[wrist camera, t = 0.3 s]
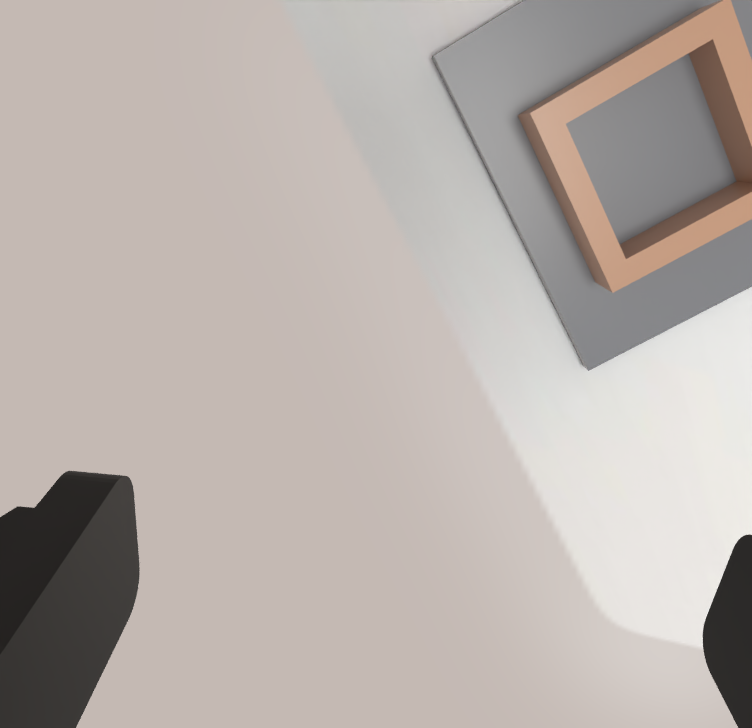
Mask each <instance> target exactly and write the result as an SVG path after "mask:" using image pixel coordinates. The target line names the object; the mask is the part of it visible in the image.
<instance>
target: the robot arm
mask: <svg viewBox="0 0 752 728" xmlns="http://www.w3.org/2000/svg"><path fill="white" fill-rule="evenodd" d="M138 583H139V555H138V543H137V529H136V516H135V504H134V492H133V485H132V482H131V480H130V478H129V477H127V476H120V475H108V474H98V473H87V472H77V471H68V472H65V473H64V474H63V475H62V476H61V477H60V478H59V479H58V480H57V481H56V483H55V484H54V485H53V486H52V487H51V489H50V490H49V491H48V492H47V494H46V495H45V496H44V497H43V499H42V500H41V501H40V502H39V503H38V504H37V506H36V507H35V508H29V507H16V508H15V509H13V510H11V511H10V512H8V513H6V514H5V515H3V516H2V517H0V728H76V726H77V724H78V722H79V720H80V718H81V716H82V714H83V712H84V710H85V708H86V706H87V704H88V701H89V699H90V697H91V695H92V693H93V691H94V689H95V687H96V685H97V683H98V681H99V679H100V677H101V675H102V673H103V671H104V669H105V667H106V664H107V662H108V660H109V658H110V656H111V654H112V652H113V650H114V648H115V646H116V644H117V642H118V640H119V638H120V636H121V634H122V632H123V629H124V627H125V625H126V623H127V621H128V619H129V617H130V615H131V612H132V609H133V606H134V603H135V599H136V595H137V590H138ZM703 649H704V655H705V659H706V663H707V666H708V668H709V671H710V673H711V675H712V677H713V679H714V681H715V683H716V685H717V686H718V689H719V691H720V693H721V695H722V697H723V698H724V700H725V702H726V704H727V706H728V708H729V710H730V712H731V714H732V716H733V718H734V720H735V722H736V724H737V726H738V728H752V535H745V536H743V537H741V538H740V539H739V540H738V542H737V543H736V544H735V547H734V549H733V551H732V554H731V556H730V559H729V561H728V564H727V566H726V569H725V571H724V574H723V576H722V579H721V581H720V584H719V587H718V589H717V592H716V594H715V597H714V599H713V602H712V604H711V607H710V609H709V612H708V614H707V617H706V620H705V623H704V628H703Z"/></svg>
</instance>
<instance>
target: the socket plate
mask: <svg viewBox="0 0 752 728" xmlns="http://www.w3.org/2000/svg"><path fill="white" fill-rule="evenodd" d="M432 59H433V61H434V63H435V65H436V67H437V69H438V71H439V73H440V75H441V77H442V79H443V81H444V83H445V85H446V87H447V89H448V91H449V93H450V96H451V98H452V100H453V102H454V104H455V106H456V108H457V110H458V112H459V114H460V116H461V118H462V120H463V122H464V124H465V126H466V128H467V130H468V132H469V134H470V136H471V138H472V140H473V142H474V144H475V146H476V148H477V150H478V152H479V154H480V156H481V158H482V160H483V163H484V165H485V167H486V169H487V171H488V173H489V175H490V177H491V179H492V181H493V183H494V185H495V187H496V189H497V191H498V193H499V195H500V197H501V199H502V201H503V203H504V205H505V207H506V209H507V211H508V213H509V215H510V217H511V219H512V221H513V223H514V225H515V227H516V230H517V232H518V234H519V236H520V238H521V240H522V242H523V244H524V246H525V248H526V250H527V252H528V254H529V256H530V258H531V260H532V262H533V264H534V266H535V268H536V270H537V272H538V274H539V276H540V278H541V280H542V282H543V284H544V286H545V288H546V290H547V292H548V294H549V297H550V299H551V301H552V303H553V305H554V307H555V309H556V311H557V313H558V315H559V317H560V319H561V321H562V323H563V325H564V327H565V329H566V331H567V333H568V335H569V337H570V339H571V341H572V343H573V345H574V347H575V349H576V351H577V353H578V355H579V357H580V359H581V362H582V364H583V366H584V367H585V368H586V369H587V370H588V371H589V370H591V369H593V368H595V367H597V366H599V365H601V364H602V363H604V362H606V361H608V360H610V359H612V358H614V357H616V356H618V355H620V354H622V353H624V352H626V351H628V350H630V349H632V348H633V347H635V346H637V345H639V344H641V343H643V342H645V341H647V340H649V339H651V338H653V337H655V336H657V335H659V334H661V333H663V332H664V331H666V330H668V329H670V328H672V327H674V326H676V325H678V324H680V323H682V322H684V321H686V320H688V319H690V318H692V317H694V316H696V315H697V314H699V313H701V312H703V311H705V310H707V309H709V308H711V307H713V306H715V305H717V304H719V303H721V302H723V301H725V300H727V299H728V298H730V297H732V296H734V295H736V294H738V293H740V292H742V291H744V290H746V289H748V288H750V287H752V0H524V1H522V2H521V3H519V4H517V5H516V6H514V7H512V8H511V9H509V10H508V11H506V12H504V13H503V14H501V15H499V16H498V17H496V18H494V19H493V20H491V21H490V22H488V23H486V24H485V25H483V26H481V27H480V28H478V29H476V30H475V31H473V32H472V33H470V34H468V35H467V36H465V37H463V38H462V39H460V40H458V41H457V42H455V43H454V44H452V45H450V46H449V47H447V48H445V49H444V50H442V51H441V52H439V53H437V54H436V55H434V56H433V57H432Z"/></svg>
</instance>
